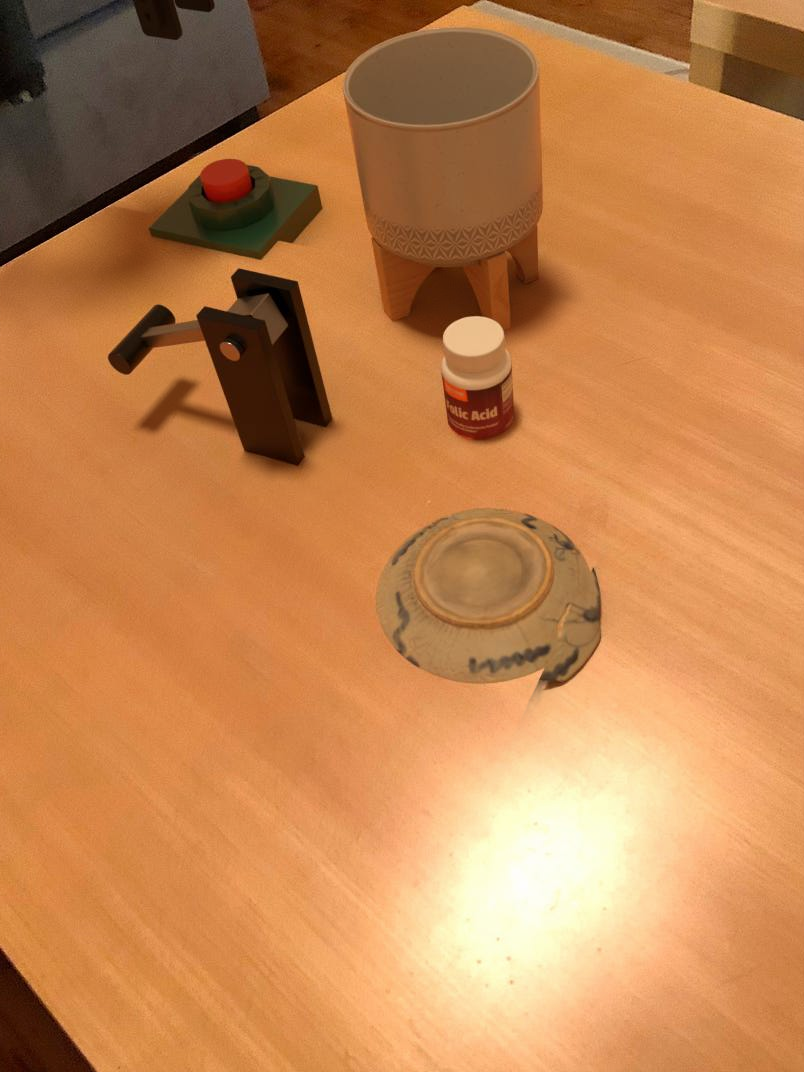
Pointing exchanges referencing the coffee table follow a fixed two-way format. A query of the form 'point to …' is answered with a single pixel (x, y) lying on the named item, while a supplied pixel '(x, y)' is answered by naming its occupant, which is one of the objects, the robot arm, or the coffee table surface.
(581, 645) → the decorative bowl
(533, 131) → the planter
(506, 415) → the pill bottle
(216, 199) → the button
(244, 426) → the bracket
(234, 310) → the lever
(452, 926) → the coffee table surface
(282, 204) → the button box
